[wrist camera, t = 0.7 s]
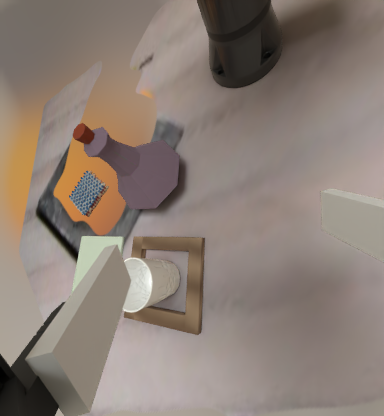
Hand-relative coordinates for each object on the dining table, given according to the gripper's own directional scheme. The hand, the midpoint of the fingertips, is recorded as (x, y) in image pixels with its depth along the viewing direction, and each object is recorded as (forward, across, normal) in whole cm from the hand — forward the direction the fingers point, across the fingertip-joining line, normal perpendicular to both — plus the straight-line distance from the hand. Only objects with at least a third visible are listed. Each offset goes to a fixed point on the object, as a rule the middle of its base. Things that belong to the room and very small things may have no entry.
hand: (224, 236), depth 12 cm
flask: (+34, -7, 0) cm, 35 cm away
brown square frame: (+22, -9, -17) cm, 30 cm away
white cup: (+22, -9, -17) cm, 30 cm away
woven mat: (+45, -27, 0) cm, 53 cm away
